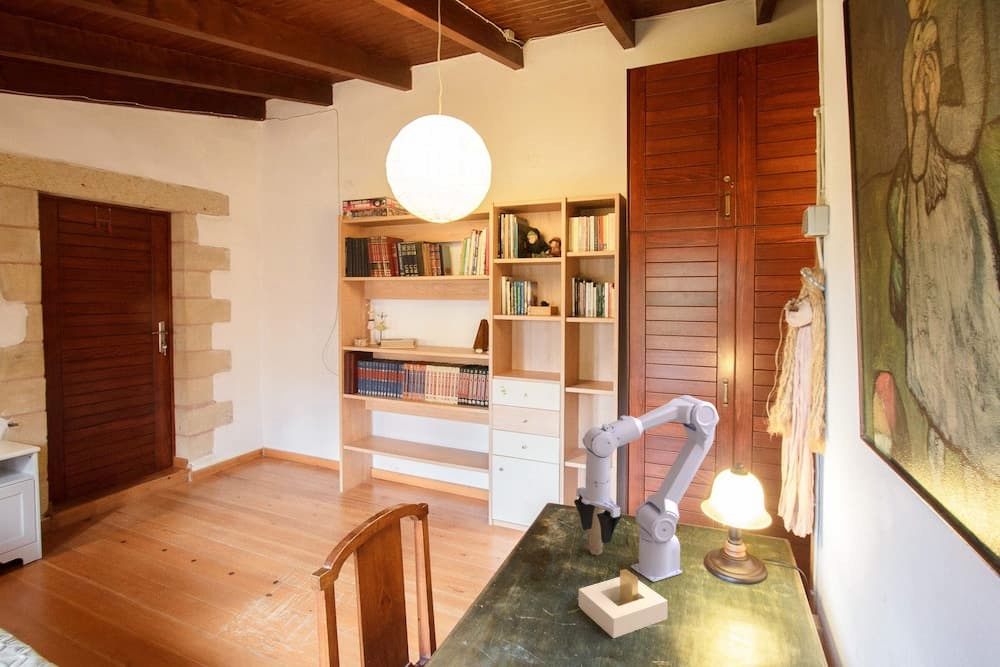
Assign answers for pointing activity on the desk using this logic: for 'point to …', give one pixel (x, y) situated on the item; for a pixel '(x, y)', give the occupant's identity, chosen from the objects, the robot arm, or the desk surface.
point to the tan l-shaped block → (628, 587)
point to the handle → (595, 534)
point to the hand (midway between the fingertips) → (596, 535)
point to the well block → (622, 607)
